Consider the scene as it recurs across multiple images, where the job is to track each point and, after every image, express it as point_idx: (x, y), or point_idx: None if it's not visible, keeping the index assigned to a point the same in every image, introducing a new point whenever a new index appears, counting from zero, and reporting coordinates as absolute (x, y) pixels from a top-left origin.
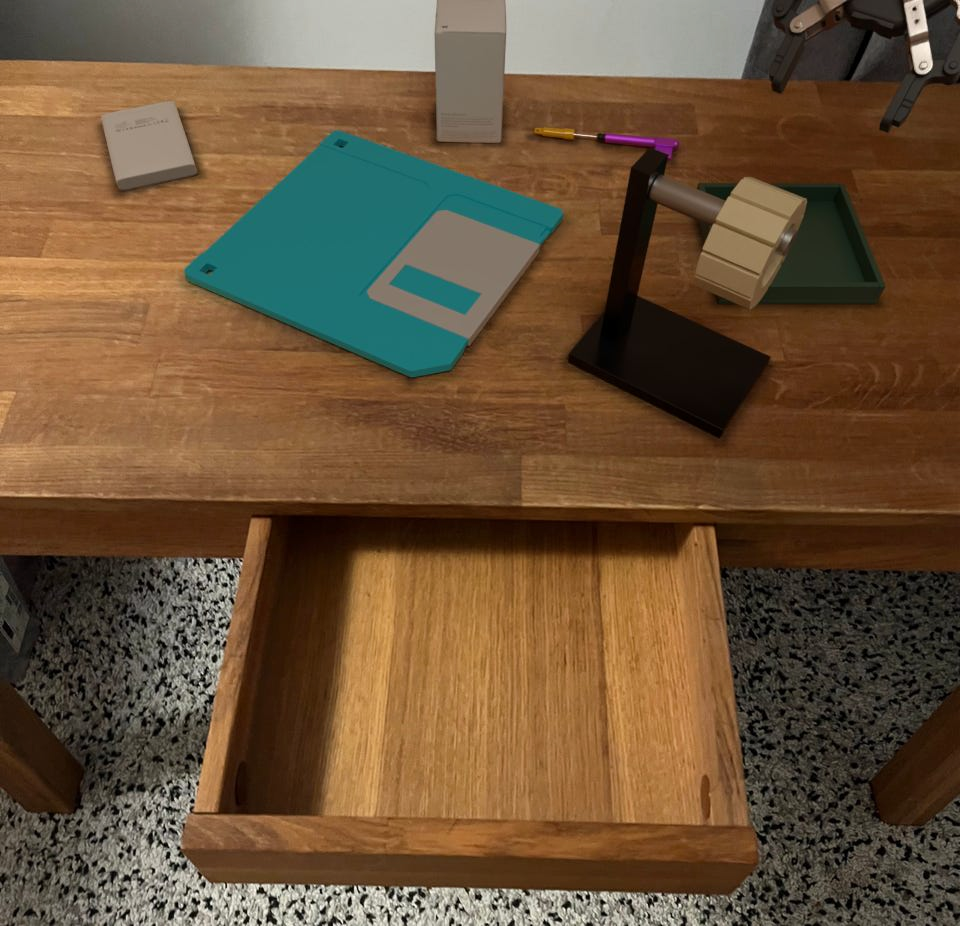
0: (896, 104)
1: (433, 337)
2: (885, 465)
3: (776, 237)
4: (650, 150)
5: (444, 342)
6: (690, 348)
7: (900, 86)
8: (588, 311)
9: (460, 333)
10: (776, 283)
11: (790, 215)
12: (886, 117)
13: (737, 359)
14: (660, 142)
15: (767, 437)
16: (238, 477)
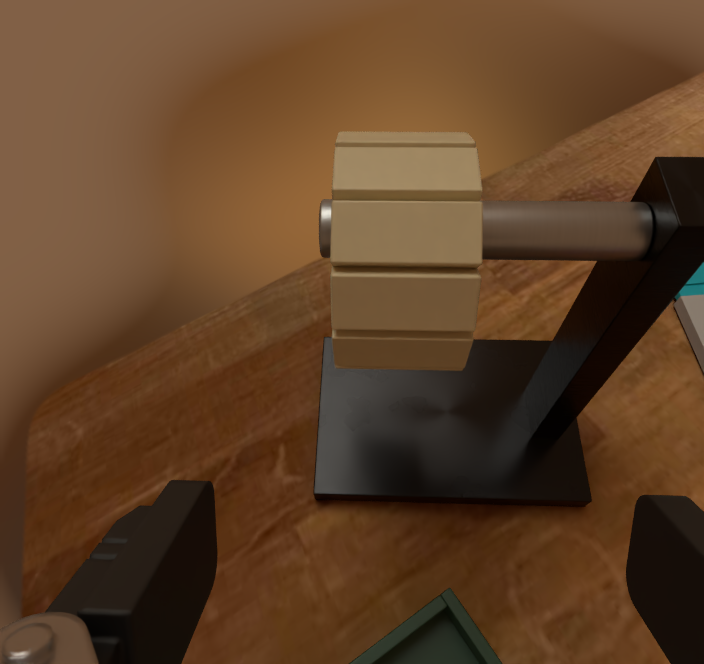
0: (160, 516)
1: None
2: (116, 419)
3: (341, 133)
4: None
5: (697, 276)
6: (428, 439)
7: (153, 561)
8: (603, 450)
9: (696, 297)
10: (368, 659)
11: (336, 147)
12: (192, 484)
13: (357, 458)
14: None
15: (271, 379)
16: (690, 95)
